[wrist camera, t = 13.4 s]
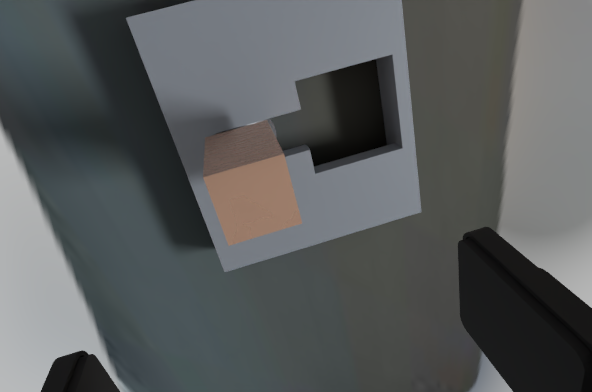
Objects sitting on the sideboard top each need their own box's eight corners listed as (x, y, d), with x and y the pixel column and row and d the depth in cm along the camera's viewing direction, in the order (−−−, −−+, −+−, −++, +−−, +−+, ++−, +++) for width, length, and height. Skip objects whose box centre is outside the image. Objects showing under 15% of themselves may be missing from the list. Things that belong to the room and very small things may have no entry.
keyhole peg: (194, 110, 26) (184, 168, 17) (264, 90, 27) (294, 137, 17) (217, 174, 29) (220, 259, 19) (281, 155, 29) (317, 230, 19)
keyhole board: (135, 16, 24) (125, 17, 21) (375, -45, 25) (396, -52, 22) (223, 248, 31) (224, 272, 28) (402, 194, 32) (421, 211, 30)
